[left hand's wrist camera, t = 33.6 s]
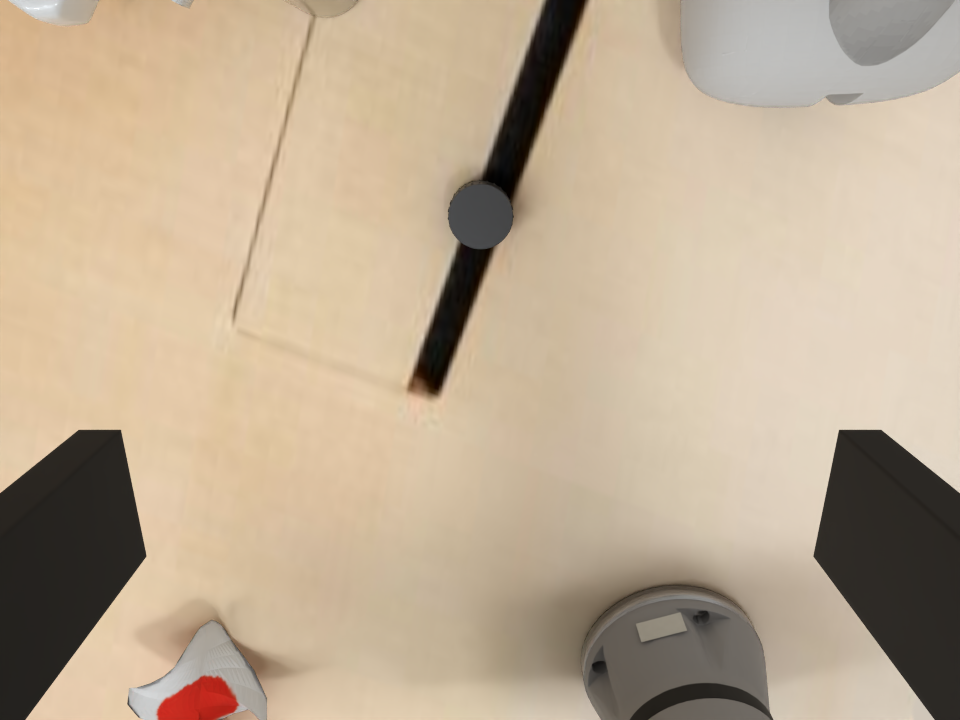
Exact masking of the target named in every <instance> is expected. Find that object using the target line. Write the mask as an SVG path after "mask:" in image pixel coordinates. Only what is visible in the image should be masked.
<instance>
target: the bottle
mask: <svg viewBox="0 0 960 720" xmlns="http://www.w3.org/2000/svg"><path fill="white" fill-rule="evenodd" d="M283 1H285V2H287V3H289V4H291V5H293V6H294V7H296V8H298V9H300V10H302V11H304V12H305V13H308V14H310V15H312V16H316V17H321V18H330V17H335V16H339V15H341V14H343V13H345V12H346V11H348V10H349V9H350V8H352V7H353V6H354V4H355V3H356V2H357V1H358V0H283Z"/></svg>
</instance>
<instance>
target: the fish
mask: <svg viewBox="0 0 960 720" xmlns="http://www.w3.org/2000/svg"><path fill="white" fill-rule="evenodd" d="M128 705H129V707H130V708H131V709H132V710H133V711H134V713H135V714H136V715H137V716H138V717H139V718H141V719H143V720H222V719H224V718H226V717H227V716H229V715H231V714H233V713H237V712H241V711H245V710H248V709H249V710H250V711H251V712H252V713H253V714H254V715H255V716H256V717H257V718H258V719H259V720H267V698H266V695H265V693H264V691H263V689H262V687H261V684H260V682H259V680H258V678H257V676H256V674H255V671H254V670H253V668H252V667H251V666H250V664H249V663H248V661H247V660H246V659H245V657H244V656H243V655H242V653H241V652H240V651H239V649H238V648H237V647H236V646H235V644H234V643H233V642H232V640H231V639H230V637H229V635H228V634H227V632H226V630H225V629H224V628H223V627H222V625H221V624H219V623H218V622H216V621H213V620H211V621H209V622H208V623H206V624H204V625H203V626H201V627H200V629H199V630H198V631H197V633H196V634H195V635H194V637H193V639H192V640H191V642H190V643H189V645H188V646H187V648H186V650H185V651H184V653H183V654H182V656H181V657H180V659H179V661H178V662H177V664H176V666H175V667H174V668H173V669H172V670H171V671H170V672H168V673H167V674H166V675H165V676H164V677H162V678H160V679H158V680H156V681H154V682H152V683H150V684H147V685H144V686H141V687H138V688H129V695H128Z"/></svg>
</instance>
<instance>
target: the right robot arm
mask: <svg viewBox="0 0 960 720" xmlns="http://www.w3.org/2000/svg"><path fill="white" fill-rule="evenodd" d="M8 1H10V2H11V3H12V4H14V5H15V6H17V7H18V8H20V9H21V10H22V11H24V12H25V13H27V14H28V15H30V16H32V17H33V18H35V19H37V20H40V21H43V22H46V23H49V24H53V25H57V26H76V25H82V24H87V23H88V22H89V21H90V20H91V18H92V16H93V13H94V11H95V9H96V6H97V4H98V1H99V0H8ZM172 1H174V2H176V3H177V4H179V5H181V6H184V7H187V8H190V6H191V4H192V2H193V0H172Z"/></svg>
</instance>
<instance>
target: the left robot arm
mask: <svg viewBox="0 0 960 720" xmlns="http://www.w3.org/2000/svg"><path fill="white" fill-rule="evenodd" d="M145 558H146V551H145V546H144V542H143V537H142V532H141V527H140V522H139V517H138V512H137V507H136V502H135V497H134V492H133V487H132V483H131V478H130V473H129V468H128V463H127V458H126V453H125V448H124V443H123V438H122V433H121V430H78V431H77V432H76V433H74V434H73V435H72V436H71V437H70V438H68V439H67V440H66V441H65V442H63V443H62V444H61V445H60V446H58V447H57V448H56V449H55V450H53V451H52V452H51V453H50V454H48V455H47V456H46V457H45V458H43V459H42V460H41V461H40V462H38V463H37V464H36V465H35V466H34V467H32V468H31V469H30V470H29V471H27V472H26V473H25V474H24V475H22V476H21V477H20V478H19V479H17V480H16V481H15V482H14V483H12V484H11V485H10V486H9V487H7V488H6V489H5V490H4V491H2V492H1V493H0V720H25V719H26V718H27V717H28V715H29V714H30V713H31V711H32V710H33V709H34V707H35V706H36V705H37V703H38V702H39V700H40V699H41V698H42V696H43V695H44V694H45V692H46V691H47V690H48V688H49V687H50V686H51V684H52V683H53V682H54V680H55V679H56V678H57V676H58V675H59V674H60V672H61V671H62V669H63V668H64V667H65V665H66V664H67V663H68V661H69V660H70V659H71V657H72V656H73V655H74V653H75V652H76V651H77V649H78V648H79V647H80V645H81V644H82V643H83V641H84V640H85V639H86V637H87V636H88V634H89V633H90V632H91V630H92V629H93V628H94V626H95V625H96V624H97V622H98V621H99V620H100V618H101V617H102V616H103V614H104V613H105V612H106V610H107V609H108V608H109V606H110V605H111V603H112V602H113V601H114V599H115V598H116V597H117V595H118V594H119V593H120V591H121V590H122V589H123V587H124V586H125V585H126V583H127V582H128V581H129V579H130V578H131V577H132V575H133V574H134V572H135V571H136V570H137V568H138V567H139V566H140V564H141V563H142V562H143V560H144V559H145ZM814 558H815V559H816V560H817V562H818V563H819V564H820V566H821V567H822V568H823V570H824V571H825V572H826V574H827V575H828V577H829V578H830V579H831V581H832V582H833V583H834V585H835V586H836V587H837V589H838V590H839V591H840V593H841V594H842V595H843V597H844V598H845V599H846V601H847V602H848V603H849V605H850V606H851V608H852V609H853V610H854V612H855V613H856V614H857V616H858V617H859V618H860V620H861V621H862V622H863V624H864V625H865V626H866V628H867V629H868V630H869V632H870V633H871V634H872V636H873V637H874V639H875V640H876V641H877V643H878V644H879V645H880V647H881V648H882V649H883V651H884V652H885V653H886V655H887V656H888V657H889V659H890V660H891V661H892V663H893V664H894V665H895V667H896V668H897V669H898V671H899V672H900V674H901V675H902V676H903V678H904V679H905V680H906V682H907V683H908V684H909V686H910V687H911V688H912V690H913V691H914V692H915V694H916V695H917V696H918V698H919V699H920V700H921V702H922V703H923V705H924V706H925V707H926V709H927V710H928V711H929V713H930V714H931V715H932V717H933V718H934V719H935V720H960V493H959V492H958V491H956V490H955V489H954V488H953V487H951V486H950V485H949V484H948V483H946V482H945V481H944V480H943V479H941V478H940V477H939V476H938V475H936V474H935V473H934V472H933V471H931V470H930V469H929V468H928V467H926V466H925V465H924V464H923V463H922V462H920V461H919V460H918V459H917V458H915V457H914V456H913V455H912V454H910V453H909V452H908V451H907V450H905V449H904V448H903V447H902V446H900V445H899V444H898V443H897V442H895V441H894V440H893V439H892V438H890V437H889V436H888V435H887V434H886V433H884V432H883V431H882V430H839V433H838V438H837V443H836V448H835V453H834V458H833V463H832V468H831V473H830V478H829V482H828V487H827V492H826V497H825V502H824V507H823V512H822V517H821V522H820V527H819V532H818V537H817V542H816V546H815V551H814ZM581 667H582V674H583V679H584V685H585V689H586V692H587V695H588V697H589V699H590V701H591V703H592V705H593V707H594V709H595V710H596V712H597V714H598V715H599V717H600V718H601V720H773V718H772V716H771V714H770V710H769V699H768V688H767V676H766V665H765V657H764V652H763V648H762V644H761V642H760V639H759V637H758V635H757V633H756V631H755V630H754V628H753V626H752V624H751V622H750V620H749V619H748V617H747V616H746V614H745V613H744V612H743V611H742V610H741V609H740V608H739V607H738V606H737V605H736V604H735V603H733V602H732V601H730V600H729V599H727V598H726V597H724V596H722V595H720V594H718V593H715V592H713V591H710V590H707V589H703V588H698V587H692V586H680V585H677V586H663V587H657V588H651V589H648V590H644V591H641V592H638V593H636V594H633V595H631V596H629V597H627V598H625V599H623V600H621V601H619V602H618V603H616V604H615V605H613V606H612V607H611V608H609V609H608V610H607V611H606V612H605V613H604V614H603V615H602V616H601V617H600V618H599V619H598V620H597V621H596V622H595V624H594V625H593V627H592V628H591V629H590V631H589V633H588V635H587V637H586V639H585V642H584V645H583V649H582V655H581Z"/></svg>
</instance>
